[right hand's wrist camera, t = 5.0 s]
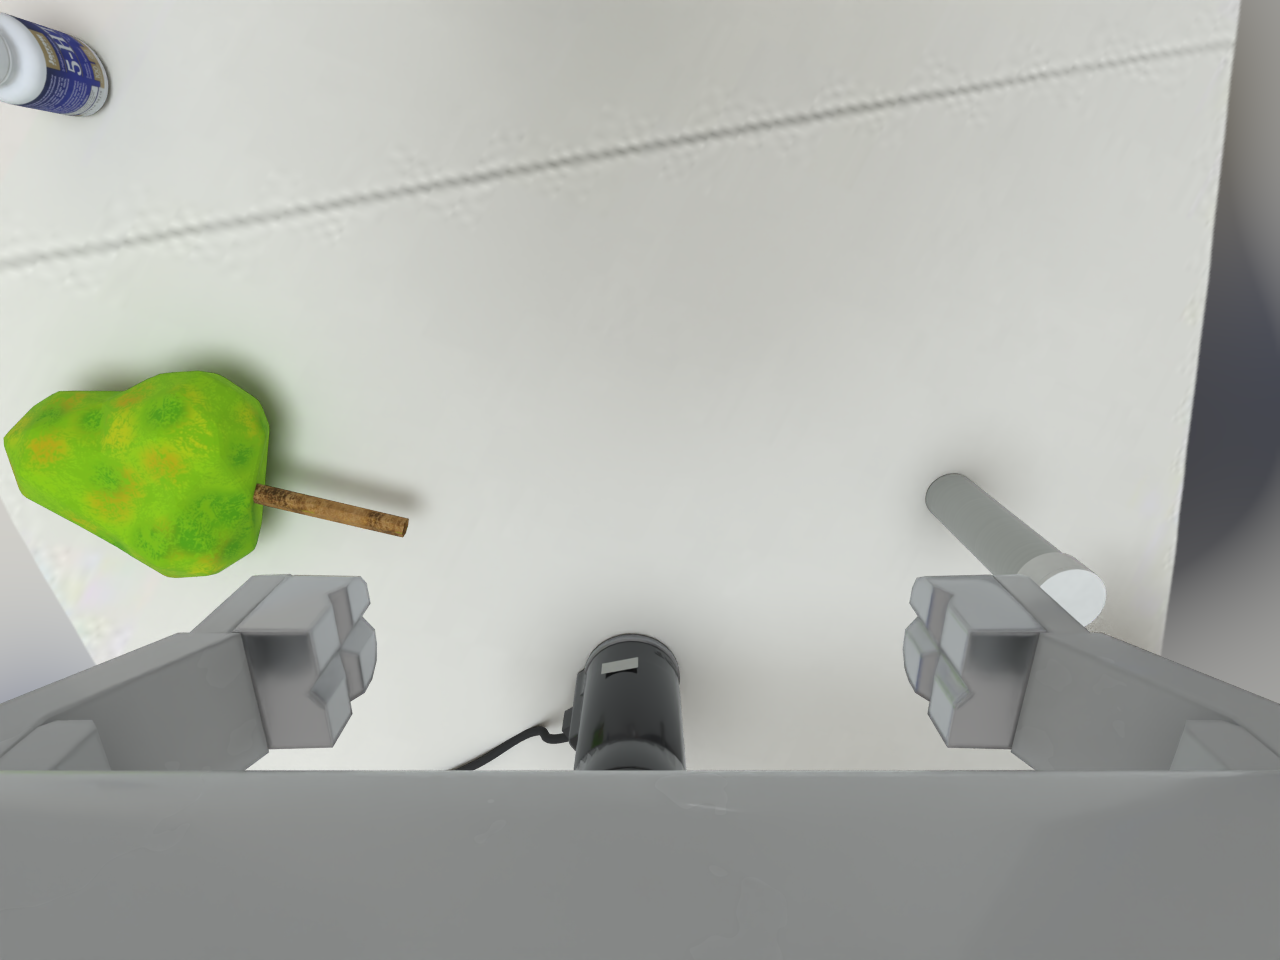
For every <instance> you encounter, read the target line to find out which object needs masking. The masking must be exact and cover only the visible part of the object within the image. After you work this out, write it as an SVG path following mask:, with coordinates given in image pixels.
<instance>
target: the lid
mask: <svg viewBox="0 0 1280 960" xmlns="http://www.w3.org/2000/svg"><path fill="white" fill-rule="evenodd" d="M1017 574H1021V575H1025V576H1028V577H1030V578H1031V579H1032V580H1033V581H1034V582H1035V583H1036V584H1037V585H1038V586H1039V587H1041V588H1042V589H1043V590H1044V591H1045V592H1046V593H1047V594H1048V595H1049V596H1051V597H1052V598H1053V599H1054V600H1055V601H1056V602H1057V603H1058V604H1059V605H1060V606H1062V607H1063V608H1064V609H1065V610H1066V611H1067V612H1068V613H1069V614H1070V615H1071V616H1073V617H1074V618H1075V619H1076V620H1077V621H1078V622H1079V623H1080V624H1081V625H1083V626H1084V627H1085V626H1087V625H1088V624H1090V623H1091V622H1092V621H1093V620H1094V619H1095V618H1096V617H1097V616H1098V615H1099V614H1100V612H1101V611H1102V609H1103V607H1104V605H1105V602H1106V588H1105V585H1104V583H1103V581H1102V580H1101V578H1100V577H1099V576H1097V575H1096V574H1095V573H1094V572H1092V571H1091V570H1090V569H1088V568H1087V567H1086V566H1085V565H1083V564H1082V563H1081V562H1079V561H1078V560H1077V559H1076V558H1074V557H1073V556H1071V555H1068V554H1065V553H1060V552H1051V553H1045V554H1042V555H1039V556H1037V557H1035V558H1033V559H1031V560H1030V561H1028V562H1027V563H1026V564H1025V565H1024V566H1023V567H1022V568H1021V569H1020V570H1019V572H1018V573H1017Z"/></svg>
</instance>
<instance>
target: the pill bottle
mask: <svg viewBox="0 0 1280 960" xmlns="http://www.w3.org/2000/svg"><path fill="white" fill-rule="evenodd" d="M107 94H108V79H107V75H106V71H105V69H104V67H103V64H102V63H101V61H100V59H99V58H98V56H97V55H96V54H95V52H94V51H93V50H92V49H91V48H90V47H89V46H88V45H86V44H85V43H84V42H82V41H81V40H79V39H77V38H75V37H73V36H70V35H68V34H65V33H62V32H59V31H56V30H53V29H50V28H47V27H44V26H41V25H38V24H35V23H32V22H29V21H26V20H23V19H20V18H17V17H14V16H11V15H8V14H5V13H2V12H0V101H1V102H4V103H8V104H12V105H18V106H23V107H28V108H33V109H38V110H43V111H48V112H54V113H59V114H64V115H69V116H77V117H84V116H89V115H91V114H94V113H95V112H97V111H98V110H99V109H100V108H101V107H102V106H103V104H104V103H105V101H106V98H107Z"/></svg>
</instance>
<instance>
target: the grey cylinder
mask: <svg viewBox="0 0 1280 960" xmlns="http://www.w3.org/2000/svg"><path fill="white" fill-rule="evenodd" d="M926 504H927V507H928V509H929V510H930V512H931V513H932V514H933V515H934V516H935V517H936V518H937V519H938V520H939V521H940V522H941V523H942V524H943V525H944V526H945V527H946V528H947V529H948V530H949V531H950V532H951V533H952V534H953V535H954V536H955V537H956V538H957V539H958V540H959V541H960V542H961V543H962V544H963V545H964V546H965V547H966V548H967V549H968V550H969V551H970V552H971V553H972V554H973V555H974V556H975V557H976V558H977V559H978V560H979V561H980V562H981V563H982V564H983V565H984V566H985V567H986V568H987V569H988V570H989V571H990V572H991V573H992V574H993V575H1008V574H1017V573H1018V572H1019V570H1020V569H1021V568H1022V567H1023V566H1024V565H1025V564H1026V563H1027V562H1028V561H1030V560H1031V559H1033V558H1035V557H1037V556H1039V555H1042V554H1045V553H1051V552H1060V553H1062V552H1061V551H1059V550H1058V549H1057V548H1056V547H1054V546H1053V545H1052V544H1051V543H1049V542H1048V541H1047V540H1045V539H1044V538H1043V537H1042V536H1040V535H1039V534H1038V533H1037V532H1035V531H1034V530H1033V529H1031V528H1030V527H1029V526H1028V525H1026V524H1025V523H1024V522H1023V521H1021V520H1020V519H1019V518H1018V517H1016V516H1015V515H1014V514H1012V513H1011V512H1010V511H1009V510H1007V509H1006V508H1005V507H1004V506H1002V505H1001V504H1000V503H999V502H997V501H996V500H995V499H993V498H992V497H991V496H990V495H988V494H987V493H986V492H985V491H983V490H982V489H981V488H979V487H978V486H977V485H976V484H974V483H973V482H972V481H971V480H969V479H968V478H967V477H965V476H963V475H960V474H947V475H944V476H942V477H940V478H938V479H937V480H935V481H934V482H933V483H932V484H931V486H930V487H929V489H928V491H927V494H926Z"/></svg>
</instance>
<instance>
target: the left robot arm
mask: <svg viewBox="0 0 1280 960" xmlns="http://www.w3.org/2000/svg"><path fill="white" fill-rule="evenodd" d="M679 684H680V676H679V667H678V663H677V661H676V659H675V657H674V655H673V654H672V652H671V651H670V650H669V649H668V648H667V647H666V646H664V645H663V644H662V643H660V642H659V641H657V640H655V639H652V638H650V637H647V636H642V635H621V636H617V637H614V638H611V639H609V640H607V641H605V642H603V643H602V644H600V645H599V646H598V647H597V648H596V649H595V650H594V651H593V652H592V653H591V655H590V656H589V658H588V660H587V663H586V666H585V669H584V670H583V671H581V672H580V673H578V675H577V682H576V689H575V696H574V703H573V707H572V708H570V709H568V710H566V711H565V713H564V720H563V726H562V732H563V733H562V734H549V732H548V731H547V729H546V728H544V727H542V726H538V727H534V728H531V729H528V730H525V731H523V732H521V733H520V734H518V735H516V736H514V737H512V738H511V739H509V740H507V741H505V742H504V743H502V744H501V745H499V746H498V747H496V748H495V749H493V750H492V751H490V752H489V753H487V754H485V755H484V756H482V757H480V758H478V759H477V760H475V761H473V762H471V763H469V764H467V765H464V766H462V767H460V768H458V769H456V770H475V769H477V768H479V767H481V766H483V765H485V764H486V763H488V762H490V761H491V760H493V759H495V758H496V757H498V756H499V755H501V754H502V753H504V752H505V751H507V750H508V749H510V748H511V747H513V746H515V745H516V744H518V743H520V742H521V741H523V740H525V739H527V738H530V737H533V736H537V735H540V736H541V738H542V740H543V741H545V742H546V743H550V744H557V743H563V742H568V741H569V743H570V745H571V747H572V748H573V749H574V750H575V751H576V755H575V764H574V770H686V759H685V747H684V735H683V724H682V712H681V700H680V688H679Z"/></svg>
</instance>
